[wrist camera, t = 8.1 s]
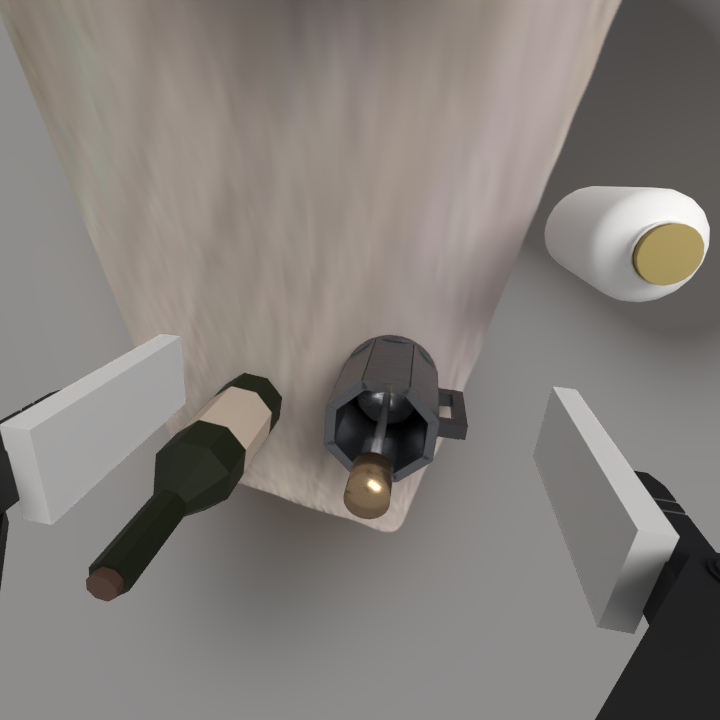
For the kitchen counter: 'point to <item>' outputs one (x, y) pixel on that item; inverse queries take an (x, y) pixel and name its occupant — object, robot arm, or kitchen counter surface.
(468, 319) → the kitchen counter surface
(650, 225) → the white rounded cylinder
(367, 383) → the dark grey mug
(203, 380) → the kitchen counter surface
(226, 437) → the wine bottle
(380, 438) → the plunger
